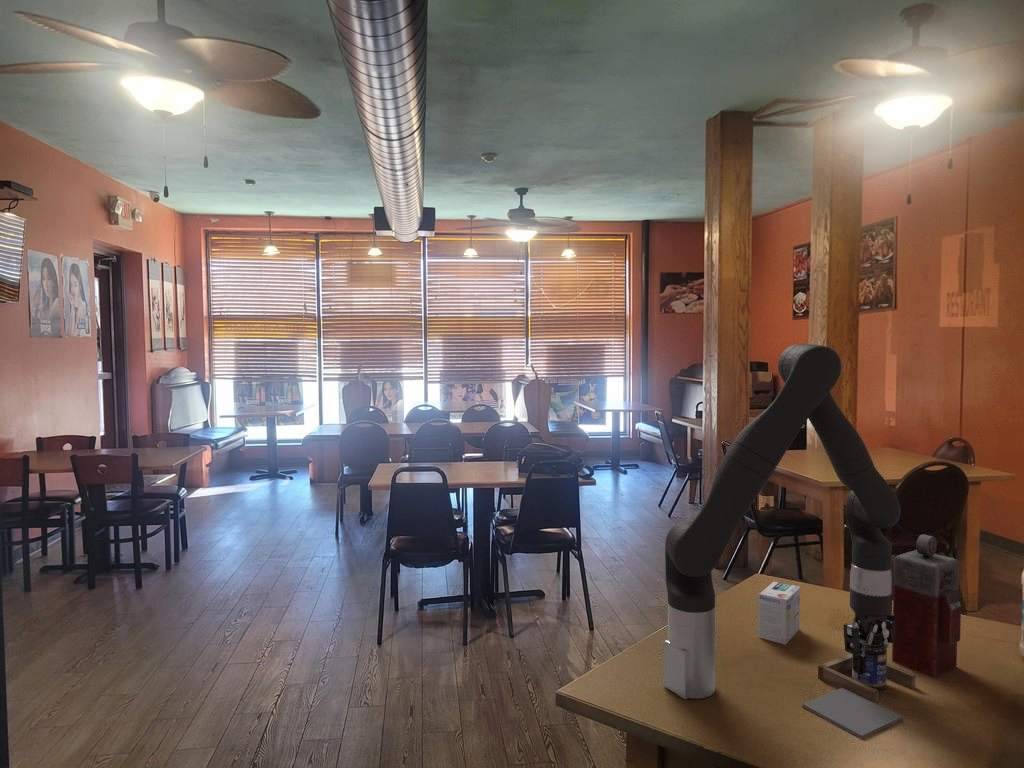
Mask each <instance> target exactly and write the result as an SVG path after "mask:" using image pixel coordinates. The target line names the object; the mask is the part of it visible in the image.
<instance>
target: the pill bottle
mask: <svg viewBox="0 0 1024 768" xmlns="http://www.w3.org/2000/svg"><path fill="white" fill-rule="evenodd" d="M859 639H862V640H866V639H867V638H865V637H862V636H860V635H859ZM882 640H883V632H880V631H879V632H876V633H875V634H874V636H873V640H872V643H871V646H869V647H868V648H867V651H866V655H865V656H866V663H865V674H862V675H861V674H859V673H857V672H855V671H854V670H853V654H852V669H851V678H852V679H854V680H856V681H859V682H861V683H863V684H865V685H867V686H869V687H872V688H874V689H876V690H878V691H882V690H884V689H886V687H887V677H886V663H888V662H887V655H888V648H886V646H885V644H884V643H883V642H882ZM861 647H862V643H860V650H861Z"/></svg>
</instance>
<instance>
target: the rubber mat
mask: <svg viewBox="0 0 1024 768" xmlns="http://www.w3.org/2000/svg"><path fill="white" fill-rule="evenodd" d="M802 708H803V709H806V710H807V711H809V712H811V713H812V714H815V715H817V716H818V717H820V718H822V719H824V720H826V721H828V722H830V723H831V724H833V725H835V726H838V727H839V728H841V729H843V730H845V732H847V733H850V734H851V735H854V736H855V737H857V738H860V740H863V739H865V738H868V737H869V736H871V735H873V734H876V733H878V732H879V731H882V730H885V729H886V728H888V727H890V726H892V725H894V724H897V723H899V722H900V721H902V720H903V715H901V714H899V713H897V712H894V711H892V710H890V709H888V708H886V707H884V706H883V705H882V706H881V705H880V704H879V703H878V704H876V703H874V702H872V701H869V700H867V699H865V698H863V697H861V696H859V695H857V694H855V693H853V692H851V691H849V690H847V689H845V688H837V689H835V690H833V691H831V692H828V693H826V694H823V695H821V696H819V697H816V698H814V699H813V698H812V699H811V700H809V701H808V700H807V701H806V702H804V703H802Z"/></svg>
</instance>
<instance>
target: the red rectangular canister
mask: <svg viewBox="0 0 1024 768" xmlns="http://www.w3.org/2000/svg"><path fill="white" fill-rule="evenodd" d="M915 543H916V545H915V547H916V549H914V550H912V551H911V550H910V551H907V552H905V553H901V554H899V555H895V557H894V560H893V589H892V614H895V615H896V624H895V634H894V642H893V643H891V644H892V647H891V649H892V650H891V651H892V653H891V655H892V656H891V661H892V662H893V663H895V664H898V665H901V666H903V667H906V668H907V669H908V668H909V669H911V670H913V671H916V672H918V673H921V674H924V675H926V676H929V677H930V678H933V679H936V678H938V677H940V676H942V675H944V674H946V673H948V672H949V671H952V670H954V669H956V668H957V667H956V666H957V662H958V661H957V660H958V657H957V656H958V642H960V641H961V621H962V620H961V619H962V614H961V613H962V605H961V601H960V598H959V590H960V589H959V587H960V586H959V584H960V583H959V582H960V581H959V579H960V577H959V576H960V563H959V560H958V559H956V558H954V557H949V556H946V555H942V554H937V553H936V551H937V549H938V542H937V538H936V537H935V536H932V535H928V534H919V536H918V537H917V540H916V542H915ZM955 667H956V668H955ZM953 668H954V669H953ZM951 669H952V670H951ZM947 671H948V672H947Z"/></svg>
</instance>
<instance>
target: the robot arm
mask: <svg viewBox="0 0 1024 768" xmlns="http://www.w3.org/2000/svg"><path fill="white" fill-rule="evenodd" d="M777 371H778V373H779V376H780V378H781V379H782V381H783V383H784V384H783V386H782V388H781V389H780V391H779V393H778V394H777V395H776V396H775V399H774V400H773V401H772V402H771V404H769V406H767V408H765V409H764V410H763V411H762V412H761V413H760V414H758V415H757V416H756V417H755V418H754V419H753V420H751V421H750V422H749V423H748V424H747V425H746V426H745V427H744V428H743V429H742V430H740V432H739V433H738V434H737V436H736V437H735V438H734V441H732V443H731V444H730V446H729V447H728V448H727V451H726V452H725V454H724V456H723V457H722V459H721V461H720V463H719V465H718V467H717V470H716V472H715V475H714V479H713V481H712V485H711V487H710V491H709V494H708V496H707V499H706V502H705V503H704V505H703V506H702V508H701V510H700V511H699V512H698V514H697V515H696V516H695V518H694V520H693V521H692V520H684V521H680V522H677V523H675V524H674V525H673V526H672V527H671V528H670V529H669V531H668V533H667V534H666V538H665V544H664V547H665V548H664V551H665V553H664V556H665V557H664V559H665V560H664V561H665V562H664V564H665V585H666V590H667V639H666V640H664V641H663V687H665V688H666V689H668V690H669V691H671V692H672V693H673V694H675V695H677V696H679V697H680V698H682V699H683V700H688V698H689V699H706V698H709V697H711V696H712V695H713V694H715V691H716V591H715V588H714V585H713V584H714V583H713V577H712V571H713V570H714V569H715V567H717V565H718V563H719V562H720V559H721V557H722V555H723V554H724V552H725V549H726V548H727V545H728V544H729V542H730V540H731V538H732V535H733V534H734V532H735V530H736V528H737V527H738V525H739V523H740V522H741V520H742V518H744V516H745V515H746V513H747V512H748V510H749V509H750V507H751V506H752V504H753V503H754V501H755V500H756V498H757V497H758V495H759V493H760V492H761V491H762V489H763V487H765V485H766V483H768V481H769V480H770V478H771V477H772V475H773V473H774V472H775V470H777V469H776V468H777V467H778V465H779V464H780V463H781V461H782V459H783V457H784V455H785V454H786V453H787V451H788V449H789V448H790V446H791V445H792V444H793V442H794V440H795V439H796V437H797V436H798V434H799V432H800V431H801V429H802V428H803V426H804V425H805V423H806V422H807V420H809V422H810V424H811V425H812V427H813V429H814V431H815V433H816V434H817V437H818V438H819V440H820V442H821V444H822V447H823V449H824V450H825V453H826V454H827V457H828V459H829V461H830V463H831V466H832V469H834V472H835V475H836V476H837V478H838V480H839V481H840V482H841V483H842V484H843V485H844V486H846V487H848V488H849V489H850V490H851V491H850V492H849V493H848V494H847V496H846V499H845V505H844V509H845V510H844V511H845V518H846V522H847V528H848V530H849V531H848V532H849V535H850V539H851V568H850V573H849V607H850V609H851V610H852V611H853V612H854V618H853V622H852V623H848V622H845V623H844V624H843V626H842V627H843V638H844V639H843V640H844V641H843V642H844V651H845V652H847V653H849V654H853V670H854V671H855V672H857V673H859V674H861V675H862V674H865V663H866V656H865V655H866V651H867V648H868V647H869V646H871V643H872V640H873V636H874V634H875V633H876V632H879V631H880V632H883V640H882V642H883V643H884V644H885V646H886V648H887V649H888V647H889V644H892V643H893V642H894V634H895V624H896V615H895V614H893V587H894V578H893V572H892V558H893V557H892V556H893V555H892V554H893V552H892V544H891V542H890V540H889V539H888V538H887V537H886V536H885V535H884V534H883V533H882V531H881V529H890V528H892V527H894V526H895V525H897V523H898V522H899V520H900V517H901V512H902V511H901V504H900V501H899V499H898V497H897V495H896V493H895V491H893V489H892V487H891V486H890V485H889V483H888V482H887V481H886V479H885V478H884V477H883V475H882V474H881V473H880V472H879V471H878V470H877V468H876V467H875V464H874V462H873V460H872V457H871V454H870V453H869V450H868V449H867V447H866V445H865V442H864V441H863V439H862V436H860V434H859V432H858V431H857V430H856V429H855V427H854V426H853V424H852V423H851V421H849V418H847V416H846V415H845V414H844V413H843V411H842V410H841V408H840V407H839V406H838V404H837V402H836V400H835V399H834V397H833V396H832V393H831V391H832V390H833V388H834V387H835V386H836V384H838V383H837V382H838V380H839V378H840V376H841V374H842V361H841V357H840V355H839V354H838V352H837V351H836V350H834V349H833V348H831V347H828V346H826V345H819V344H814V343H813V344H812V343H797V344H792V345H790V346H788V347H787V348H785V349H784V350H783V351H782V353H781V354H780V356H779V358H778V363H777ZM887 631H888V632H887ZM859 635H860V636H862V637H865V638H867V639H866V640H862V639H859ZM860 643H862V647H861V650H860Z"/></svg>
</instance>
